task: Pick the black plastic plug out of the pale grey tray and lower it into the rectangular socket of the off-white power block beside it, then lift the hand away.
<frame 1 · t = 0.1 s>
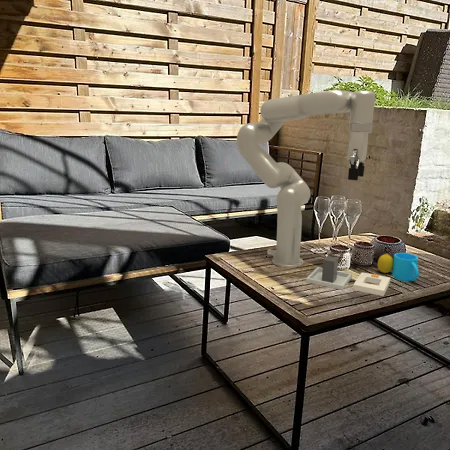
hand: (355, 178, 148), 37 cm above the table, tool pointing down, fingers open, 9 cm apart
plug: (329, 279, 152), point 1 cm above the table, touching tray
mug: (406, 279, 155), on the table
power block: (371, 287, 146), on the table
lemon: (384, 274, 159), on the table
tray: (329, 281, 152), on the table
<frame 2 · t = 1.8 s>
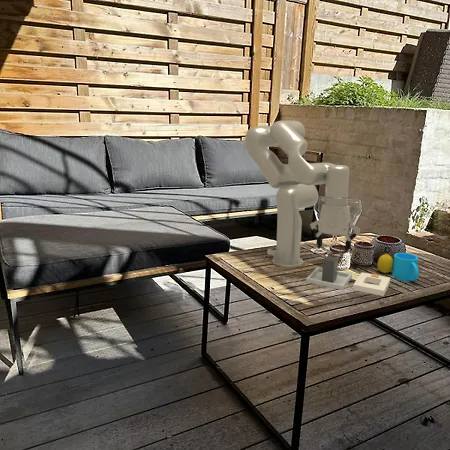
hand: (333, 249, 148), 12 cm above the table, tool pointing down, fingers open, 9 cm apart
nothing on the table moved.
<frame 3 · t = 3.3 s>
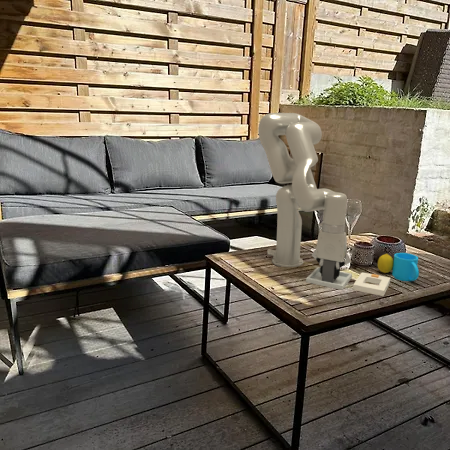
hand: (329, 276, 151), 2 cm above the table, tool pointing down, fingers closed on plug, 4 cm apart
plug: (329, 279, 152), point 1 cm above the table, touching gripper, tray
everything else where it was.
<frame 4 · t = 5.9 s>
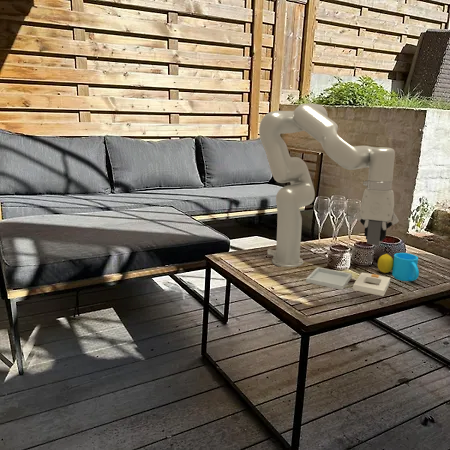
hand: (374, 238, 142), 18 cm above the table, tool pointing down, fingers closed on plug, 4 cm apart
plug: (374, 242, 142), point 17 cm above the table, touching gripper
everything else where it was.
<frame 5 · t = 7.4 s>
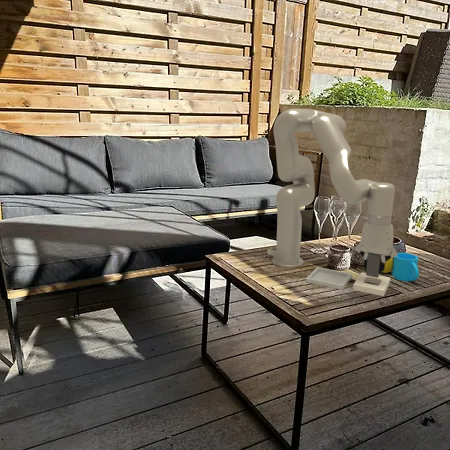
hand: (373, 270, 145), 6 cm above the table, tool pointing down, fingers closed on plug, 4 cm apart
plug: (373, 274, 145), point 5 cm above the table, touching gripper
everything else where it was.
when the fingers open (3 cm above the table, at t = 8.4 s): plug drops 2 cm, resting on power block.
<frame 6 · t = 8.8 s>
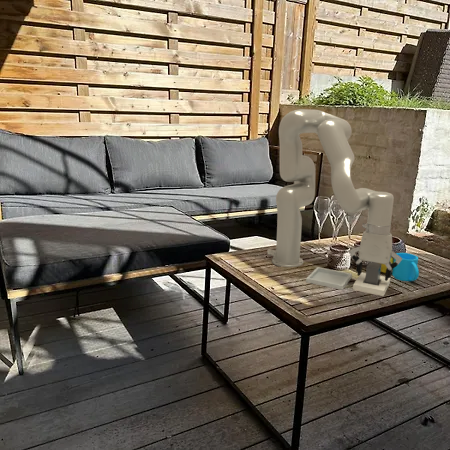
hand: (372, 276, 145), 4 cm above the table, tool pointing down, fingers open, 8 cm apart
plug: (371, 286, 146), resting on power block
everything else where it was.
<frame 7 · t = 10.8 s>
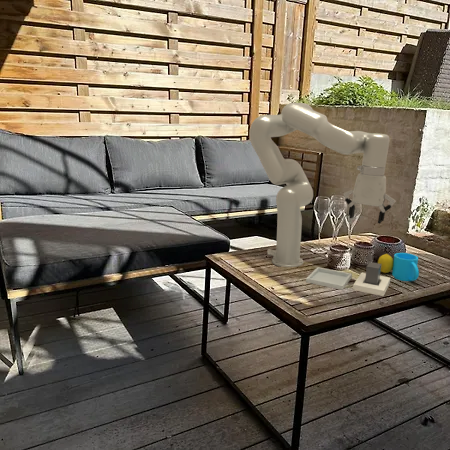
hand: (365, 220, 146), 23 cm above the table, tool pointing down, fingers open, 9 cm apart
nothing on the table moved.
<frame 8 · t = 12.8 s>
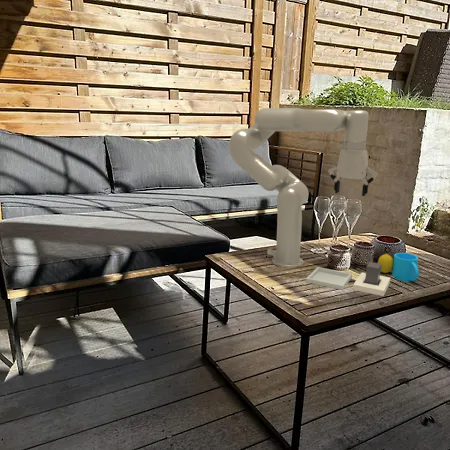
hand: (350, 194, 153), 30 cm above the table, tool pointing down, fingers open, 9 cm apart
nothing on the table moved.
at the end: plug 0.0 cm off-centre on the power block, point 0.4 cm above the power block's base; plug tilted 0°; the gripper is holding nothing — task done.
